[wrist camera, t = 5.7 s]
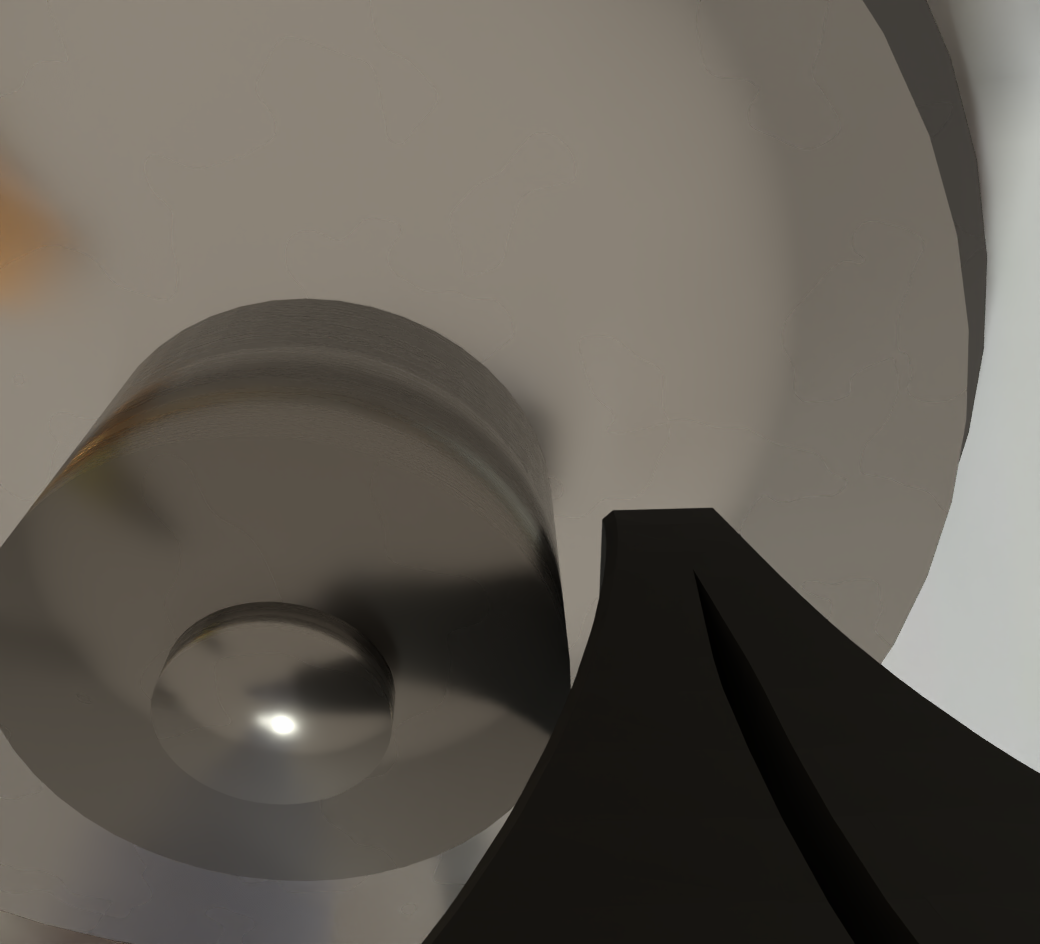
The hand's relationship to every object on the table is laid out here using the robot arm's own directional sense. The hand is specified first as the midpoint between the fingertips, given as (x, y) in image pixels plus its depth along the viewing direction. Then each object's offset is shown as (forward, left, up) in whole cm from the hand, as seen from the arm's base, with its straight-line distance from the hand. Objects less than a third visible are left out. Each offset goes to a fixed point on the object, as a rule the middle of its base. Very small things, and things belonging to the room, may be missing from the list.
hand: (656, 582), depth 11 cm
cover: (-3, +3, -2) cm, 4 cm away
